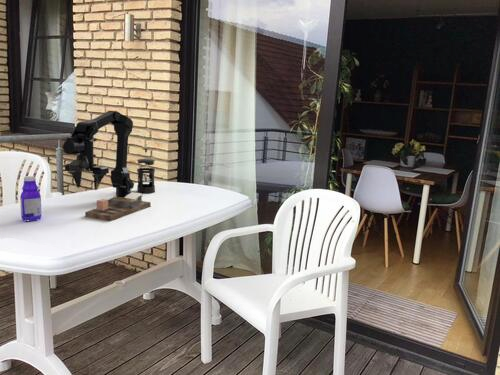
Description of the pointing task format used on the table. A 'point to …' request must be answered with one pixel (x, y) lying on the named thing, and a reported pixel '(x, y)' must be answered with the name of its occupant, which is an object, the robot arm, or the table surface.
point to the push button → (123, 199)
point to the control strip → (118, 209)
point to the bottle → (30, 200)
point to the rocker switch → (133, 195)
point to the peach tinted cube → (102, 204)
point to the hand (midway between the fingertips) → (87, 188)
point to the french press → (146, 187)
